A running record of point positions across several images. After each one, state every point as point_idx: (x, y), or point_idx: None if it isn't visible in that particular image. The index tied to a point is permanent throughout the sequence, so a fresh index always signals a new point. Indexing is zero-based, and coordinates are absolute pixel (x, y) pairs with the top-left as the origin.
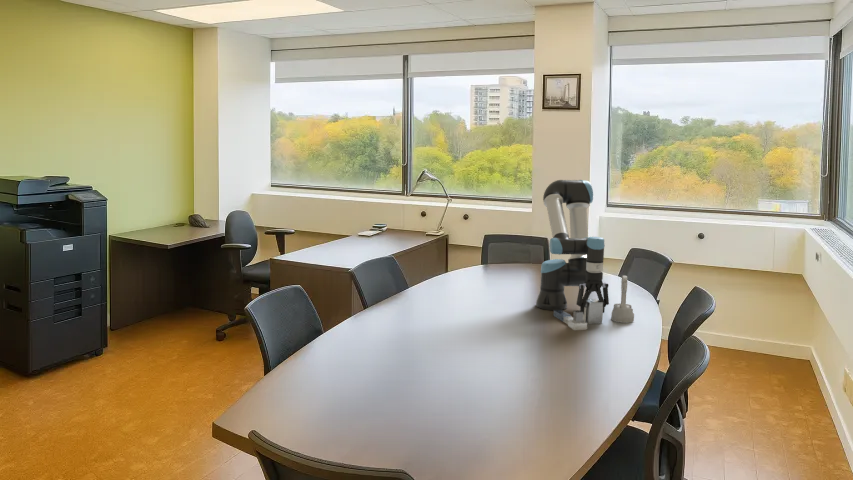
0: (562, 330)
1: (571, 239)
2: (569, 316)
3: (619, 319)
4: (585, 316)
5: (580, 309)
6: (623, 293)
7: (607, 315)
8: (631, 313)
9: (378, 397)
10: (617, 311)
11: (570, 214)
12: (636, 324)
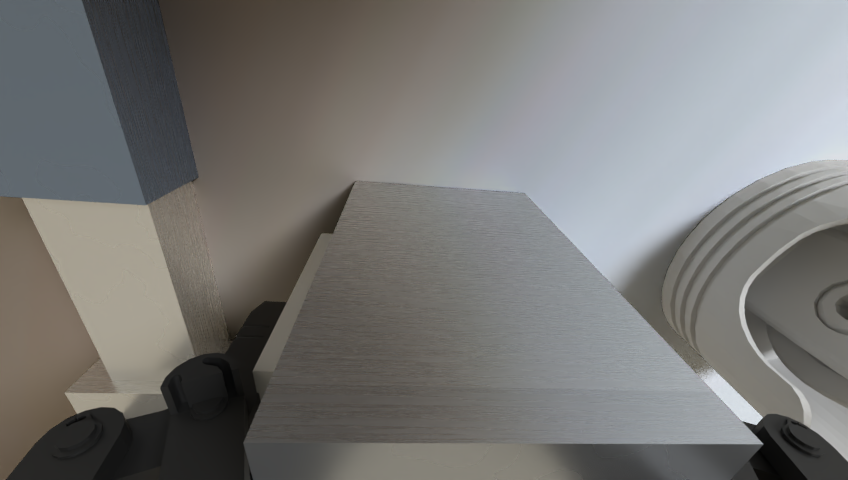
0: (49, 409)
1: None
2: (125, 218)
3: (685, 339)
4: None
5: (230, 352)
6: None
7: (816, 66)
8: (834, 414)
9: None
10: (753, 390)
11: None
12: (718, 392)
